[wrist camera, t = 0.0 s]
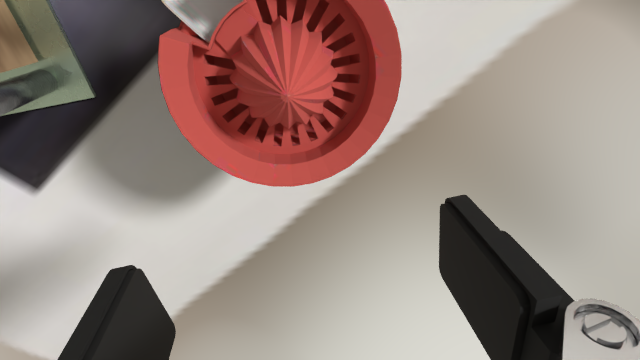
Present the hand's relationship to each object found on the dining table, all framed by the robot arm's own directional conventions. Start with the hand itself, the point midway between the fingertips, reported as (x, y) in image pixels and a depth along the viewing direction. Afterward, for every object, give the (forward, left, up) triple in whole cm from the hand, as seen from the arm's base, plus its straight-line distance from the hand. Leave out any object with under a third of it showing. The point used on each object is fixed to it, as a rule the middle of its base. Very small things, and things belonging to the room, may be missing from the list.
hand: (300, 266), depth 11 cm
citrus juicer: (-3, 0, -31) cm, 32 cm away
